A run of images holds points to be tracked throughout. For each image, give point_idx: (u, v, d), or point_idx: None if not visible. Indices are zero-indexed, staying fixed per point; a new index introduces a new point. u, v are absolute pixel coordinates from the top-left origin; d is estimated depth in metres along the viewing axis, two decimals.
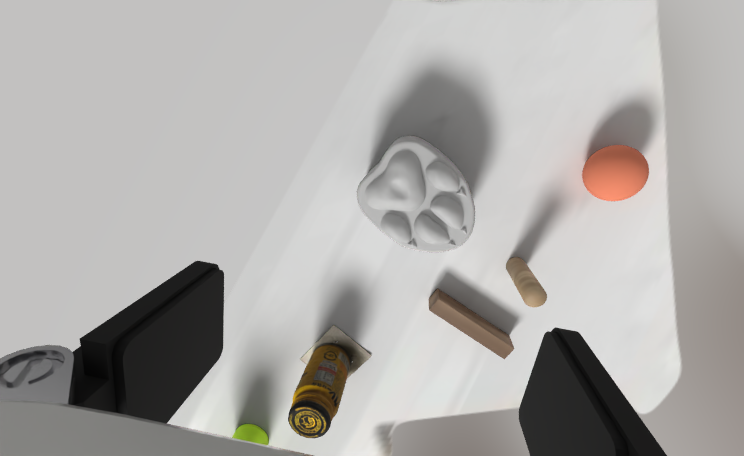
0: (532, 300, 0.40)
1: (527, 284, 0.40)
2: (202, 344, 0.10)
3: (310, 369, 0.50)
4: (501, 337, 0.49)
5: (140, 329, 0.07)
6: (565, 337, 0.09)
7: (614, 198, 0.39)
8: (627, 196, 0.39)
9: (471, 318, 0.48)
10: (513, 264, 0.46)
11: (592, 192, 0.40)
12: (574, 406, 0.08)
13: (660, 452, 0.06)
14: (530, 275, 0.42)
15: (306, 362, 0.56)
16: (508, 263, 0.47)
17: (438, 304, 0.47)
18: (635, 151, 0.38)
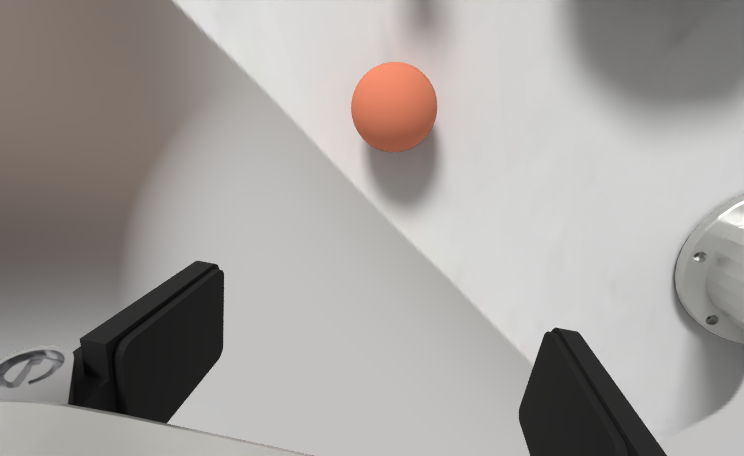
0: None
1: None
2: (202, 344, 0.10)
3: None
4: None
5: (140, 329, 0.07)
6: (565, 337, 0.09)
7: (378, 71, 0.24)
8: (364, 85, 0.24)
9: None
10: None
11: (405, 64, 0.25)
12: (574, 406, 0.08)
13: (660, 452, 0.06)
14: None
15: None
16: None
17: None
18: (397, 148, 0.25)
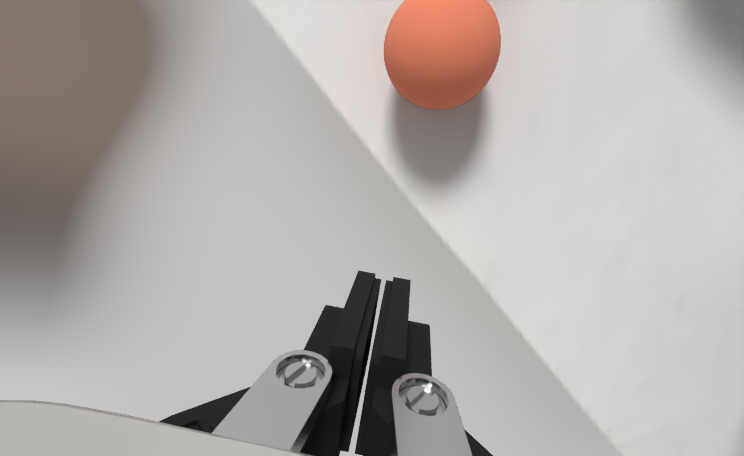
0: None
1: None
2: (368, 348, 0.11)
3: None
4: None
5: (362, 335, 0.08)
6: (393, 283, 0.11)
7: None
8: (409, 7, 0.17)
9: None
10: None
11: None
12: None
13: (402, 354, 0.08)
14: None
15: None
16: None
17: None
18: (442, 102, 0.19)
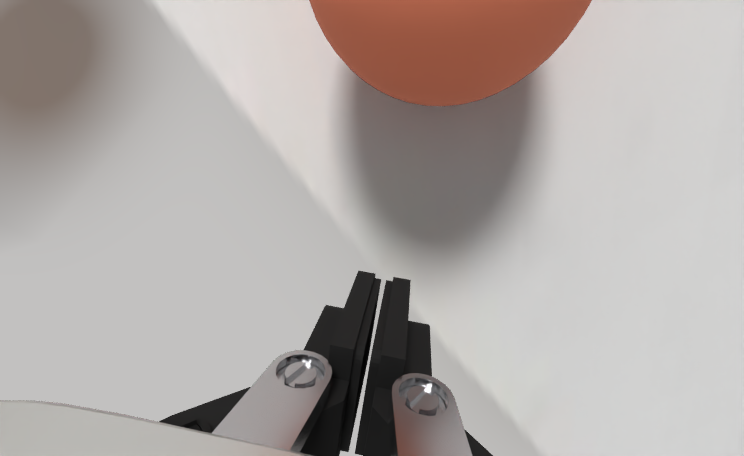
0: None
1: None
2: (368, 348, 0.11)
3: None
4: None
5: (362, 335, 0.08)
6: (393, 283, 0.11)
7: None
8: None
9: None
10: None
11: None
12: None
13: (402, 354, 0.08)
14: None
15: None
16: None
17: None
18: (453, 86, 0.07)
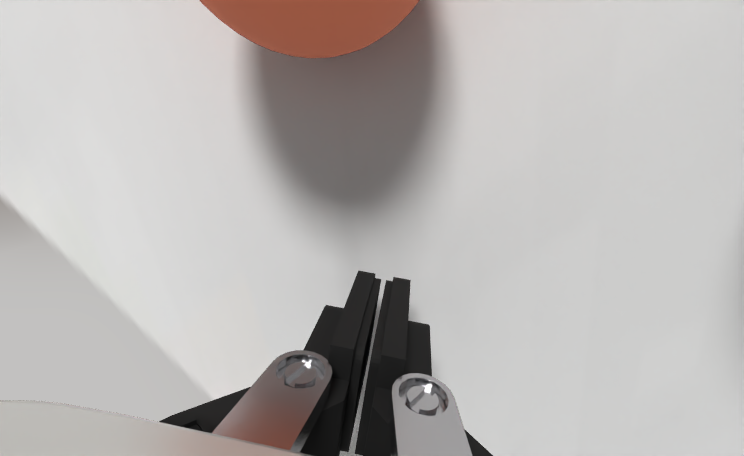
0: None
1: None
2: (368, 348, 0.11)
3: None
4: None
5: (362, 335, 0.08)
6: (393, 283, 0.11)
7: (261, 40, 0.08)
8: None
9: None
10: None
11: None
12: None
13: (402, 354, 0.08)
14: None
15: None
16: None
17: None
18: None
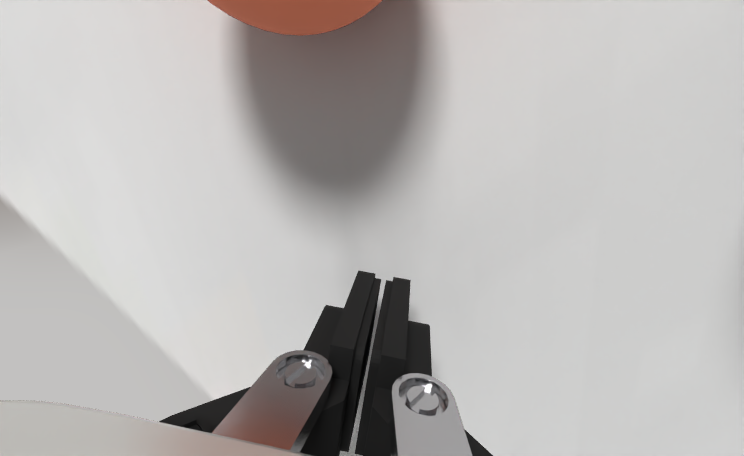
0: None
1: None
2: (368, 348, 0.11)
3: None
4: None
5: (362, 335, 0.08)
6: (393, 283, 0.11)
7: (227, 2, 0.07)
8: (240, 20, 0.08)
9: None
10: None
11: None
12: None
13: (402, 354, 0.08)
14: None
15: None
16: None
17: None
18: None
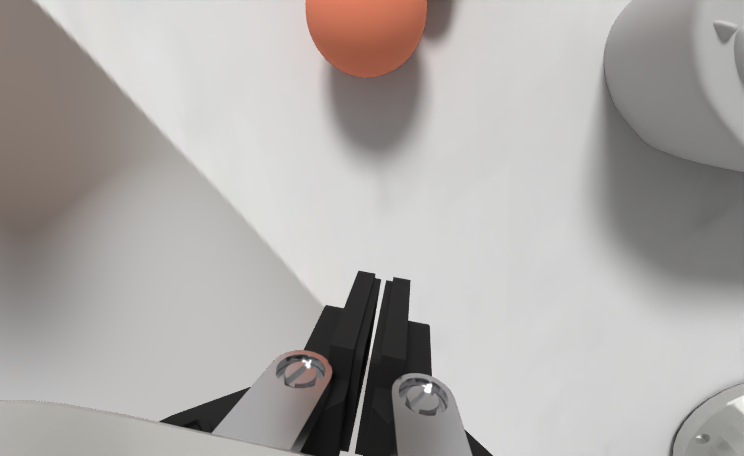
0: None
1: None
2: (368, 348, 0.11)
3: None
4: None
5: (362, 335, 0.08)
6: (393, 283, 0.11)
7: (344, 67, 0.18)
8: (342, 71, 0.20)
9: None
10: None
11: (355, 35, 0.16)
12: None
13: (402, 354, 0.08)
14: None
15: None
16: None
17: None
18: None
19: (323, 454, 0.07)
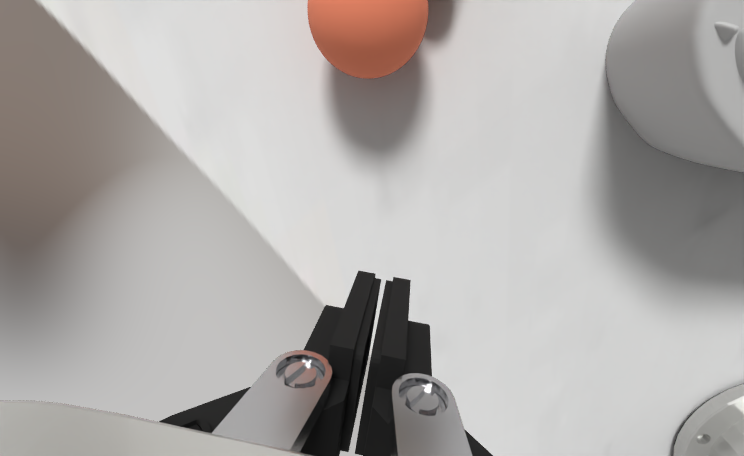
0: None
1: None
2: (368, 348, 0.11)
3: None
4: None
5: (362, 335, 0.08)
6: (393, 283, 0.11)
7: (345, 69, 0.18)
8: (344, 72, 0.20)
9: None
10: None
11: (356, 36, 0.17)
12: None
13: (402, 354, 0.08)
14: None
15: None
16: None
17: None
18: None
19: (323, 454, 0.07)
